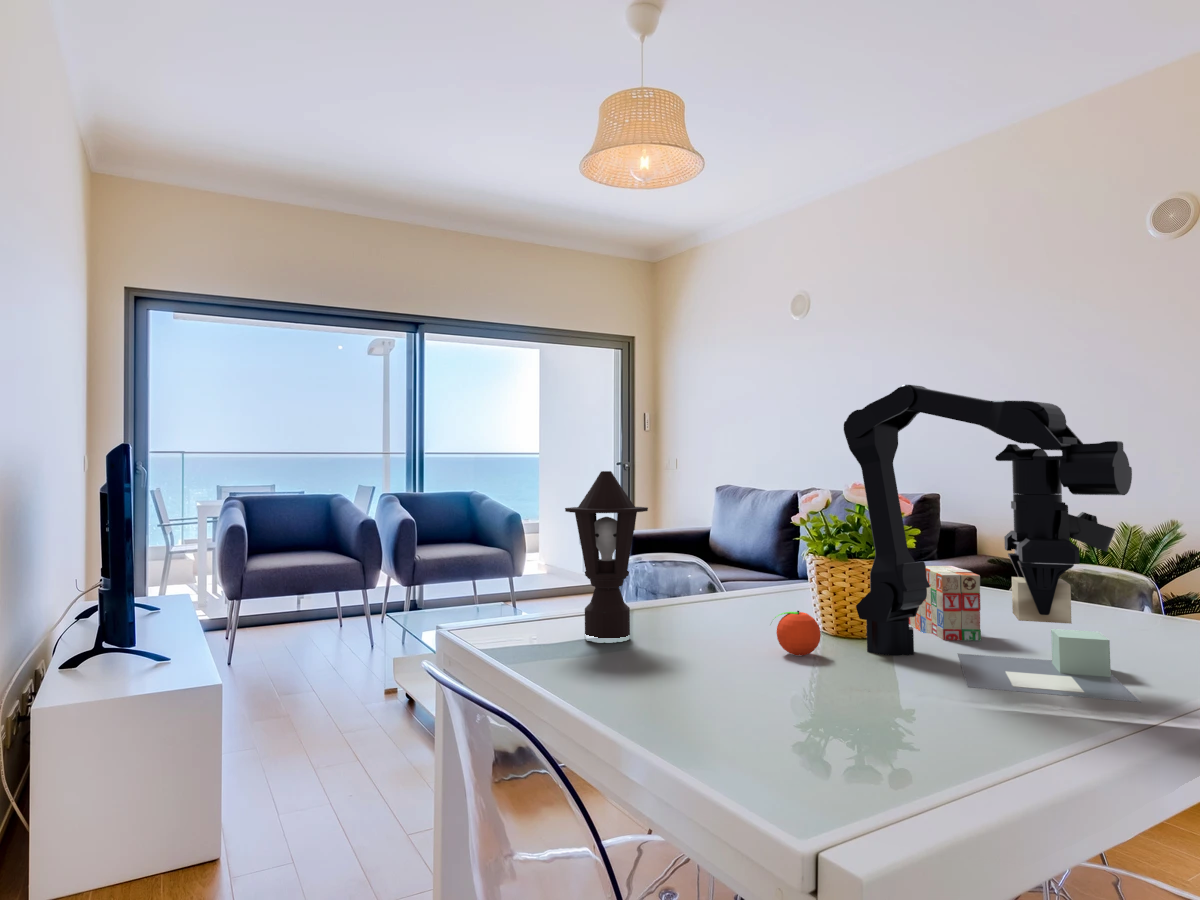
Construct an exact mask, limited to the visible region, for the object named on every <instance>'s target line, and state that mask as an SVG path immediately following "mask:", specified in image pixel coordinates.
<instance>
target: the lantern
mask: <svg viewBox="0 0 1200 900" xmlns="http://www.w3.org/2000/svg"><path fill="white" fill-rule="evenodd" d="M564 510H565V511H564V512H567V513H574V515H575V520H576V526H577V531H578V532H577V533H578V536H579V537H578V538H579V543H580V547H581V551H582V558H583V563H584V568H585V571H584V576H585V577H587V579H588V580H589V581H590V585H591V586H592V587H594V590H593V593H592V595H591V599H590V602H589V603H588V604H587V605H586V606H585V608H584V635H585V634H586V635H589V636H594V637H598V638H620V637H626V636H628V635H630V636H631V623H630V622H631V615H630V613H631V612H630V611H631V609H630V607H629V605H627V604H626V602H625V601H624V598H623V595H622V592H621V588H620V587H623V584H624V580H626V579H627V577H629V574H630V571H629V561H630V557H631V551H632V550H631V549H632V543H633V538H634V531H635V527H636V521H637V520H636V519H637V515H638V513H642V512H648V511H649V507H646V506H635V505H634V504H633V502H632V501H631V499H630V497H629V496H628V494H627V493H626V492H625V490H624V489H623V487H622V486H621V485H620V483H619V481H618V479H617V478H616V477H615V475H614V473H613V472H612V471H611V470H609V471H608V470H603V471H602V470H600V472H599V474H598V475H597V478H595V480H594V482H593V484H592V485H591V487H590V488H589V490H588V491H587V493H586V495H585V496H584V497H583V499H582V501H581V502H580V503H579V505H578V506H574V507H573V506H572V507H565V508H564ZM597 514H616V518H617V519H615V518H612V517H609V516H604V517H600V518H598V519H597ZM614 554H615V555H614ZM613 555H614V558H613ZM600 557H601V558H600Z"/></svg>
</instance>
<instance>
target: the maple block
mask: <svg viewBox="0 0 1200 900" xmlns="http://www.w3.org/2000/svg"><path fill="white" fill-rule="evenodd" d="M1071 586H1072V585H1071V584H1070V583H1069V582H1067V581H1066V580H1064V579H1062V578H1059V579H1058V583H1057V586H1056V590H1055V594H1054V598H1053V602H1052V606H1051V610H1050V614H1049V615H1041V614H1039V612H1038V609H1037V607H1036V605H1035V602H1034V600H1033V598H1032V595H1031V593H1030V590H1029V588H1028V586H1027V583H1026V581H1025V578H1024V577H1018V576H1011V598H1012V599H1011V603H1012V604H1011V605H1012V608H1011V609H1012V614H1013V615H1014V616H1015V618H1016V619H1017V620H1018V621H1021V622H1036V623H1037V622H1040V623H1052V624H1053V623H1055V624H1069V625H1070V624H1073V623H1072V595H1071V594H1072V591H1071Z"/></svg>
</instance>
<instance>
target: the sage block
mask: <svg viewBox="0 0 1200 900" xmlns="http://www.w3.org/2000/svg"><path fill="white" fill-rule="evenodd" d="M1050 634H1051V635H1050V636H1051V642H1050V643H1051V660H1052V664H1053V665H1054V666H1055V667H1056V669H1057V670H1058V671H1059V672H1060V673H1065V674H1078V675H1091V676H1104V677H1111V674H1112V673H1111V643H1110V641H1111V640H1110V639H1109V638H1108V637H1106V636H1105V635H1104V634H1103V633H1101V632H1100V631H1093V630H1092V631H1091V630H1077V629H1057V628H1051V629H1050Z"/></svg>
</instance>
